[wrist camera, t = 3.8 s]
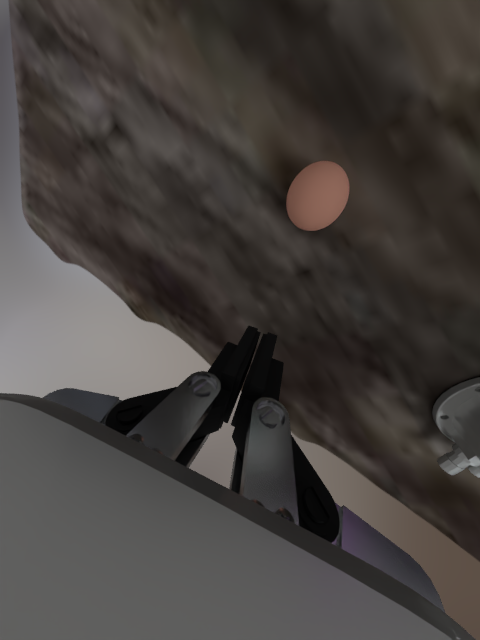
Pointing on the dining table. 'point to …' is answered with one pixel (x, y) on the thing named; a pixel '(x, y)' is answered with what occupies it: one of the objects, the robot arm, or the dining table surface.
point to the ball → (317, 195)
